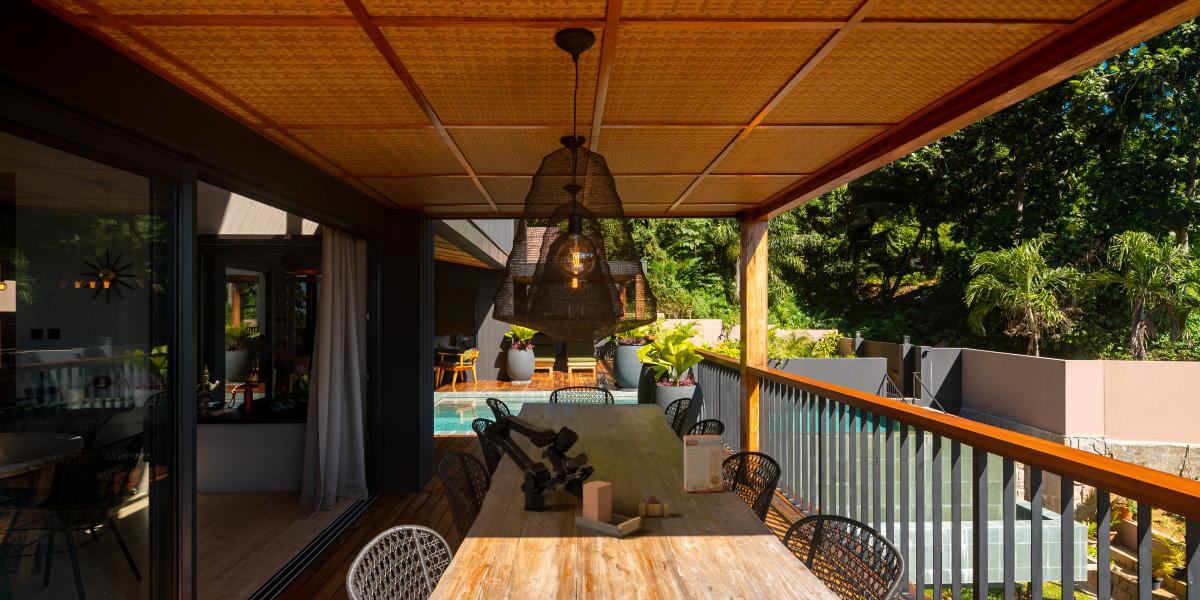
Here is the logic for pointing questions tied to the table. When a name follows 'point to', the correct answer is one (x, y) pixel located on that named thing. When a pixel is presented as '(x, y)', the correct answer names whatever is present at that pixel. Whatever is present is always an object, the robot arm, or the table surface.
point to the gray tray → (611, 526)
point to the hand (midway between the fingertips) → (584, 499)
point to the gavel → (654, 508)
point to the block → (597, 501)
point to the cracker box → (703, 463)
